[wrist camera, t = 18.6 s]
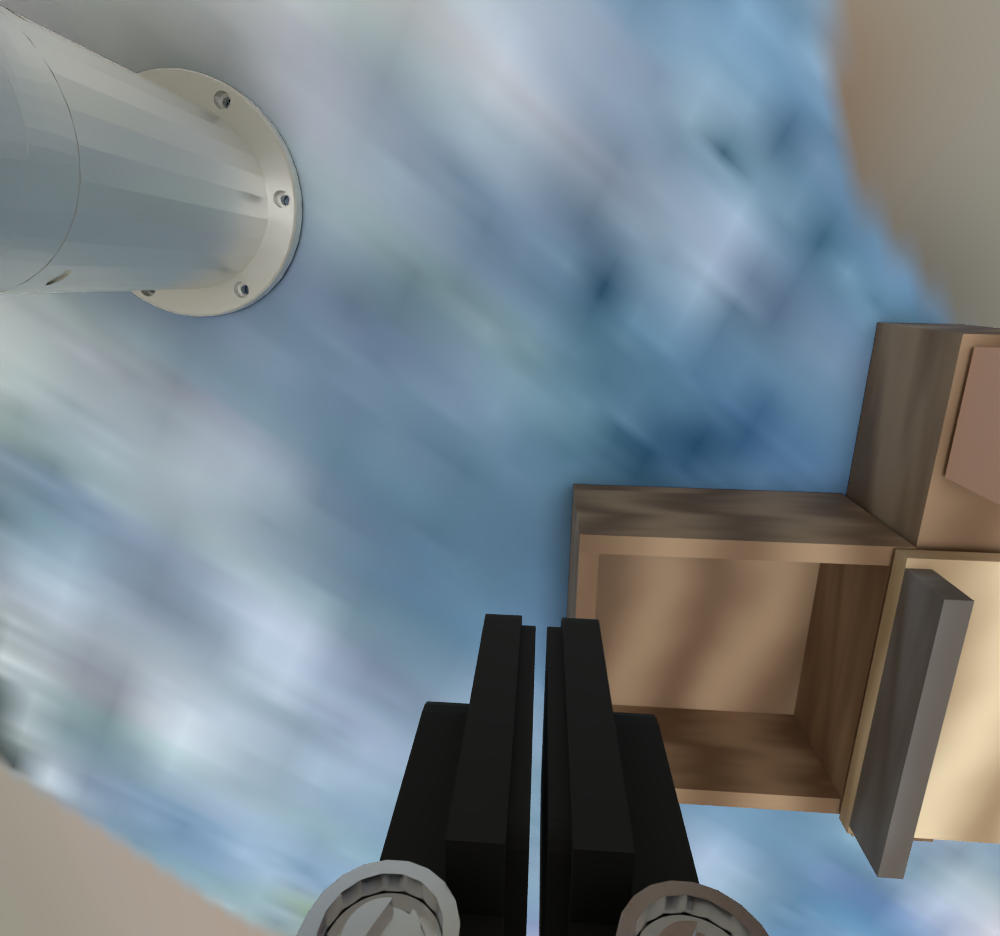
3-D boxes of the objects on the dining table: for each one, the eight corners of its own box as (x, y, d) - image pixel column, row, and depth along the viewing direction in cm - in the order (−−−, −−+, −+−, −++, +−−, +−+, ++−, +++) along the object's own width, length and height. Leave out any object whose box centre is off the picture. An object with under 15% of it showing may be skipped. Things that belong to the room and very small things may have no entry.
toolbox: (561, 729, 44) (564, 823, 36) (581, 317, 36) (591, 327, 28) (867, 747, 43) (938, 849, 35) (960, 323, 35) (1078, 336, 27)
